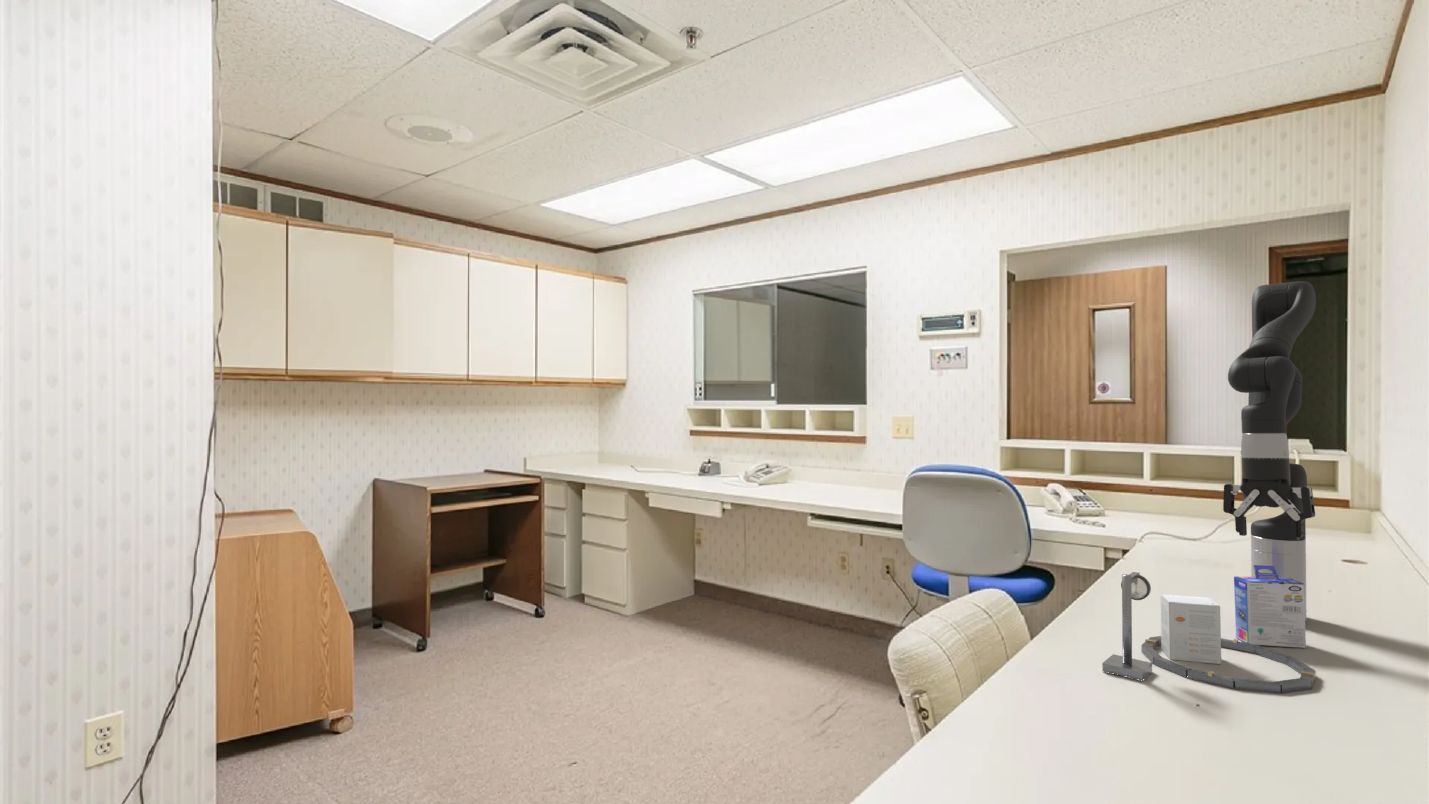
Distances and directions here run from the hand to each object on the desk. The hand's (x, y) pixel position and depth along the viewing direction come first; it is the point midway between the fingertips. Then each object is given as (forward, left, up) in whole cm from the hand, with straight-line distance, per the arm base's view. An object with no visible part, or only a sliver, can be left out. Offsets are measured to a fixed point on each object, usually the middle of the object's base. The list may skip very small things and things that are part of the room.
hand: (1268, 537), depth 138 cm
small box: (+26, -8, -20) cm, 34 cm away
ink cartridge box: (+6, +1, -20) cm, 20 cm away
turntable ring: (+26, -3, -19) cm, 33 cm away
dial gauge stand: (+40, -14, -19) cm, 47 cm away
